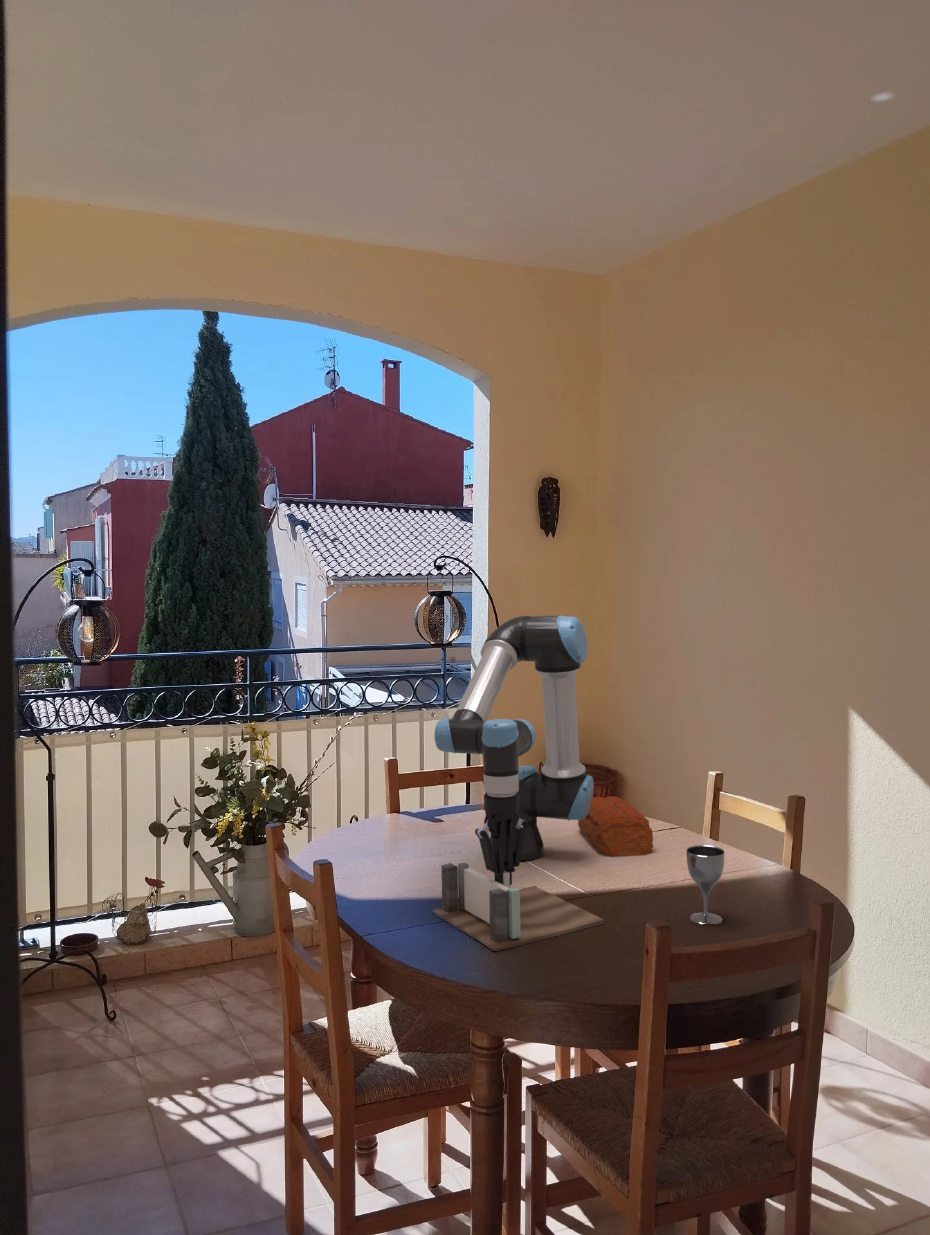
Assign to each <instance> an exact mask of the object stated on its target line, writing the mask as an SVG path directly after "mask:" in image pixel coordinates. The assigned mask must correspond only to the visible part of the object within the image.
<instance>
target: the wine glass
mask: <svg viewBox="0 0 930 1235" xmlns="http://www.w3.org/2000/svg"><path fill="white" fill-rule="evenodd" d="M686 864H687V869H688V873H689V876H690V878H691V879H692V880H693V882H694V883H695V884H696V885H697V886H698V888H699V889H700V890H701V891H700V892H701V893H702V900H703V912H694V913H692V914H689V916H690V917H688V919H689V918H690V919H689V920H690V921H691V922H693V923H694V924H697V925H699V924H700V925H703V924H715V925H719V924H721V923H723V921H722V920H723V918H722V916H721V915H718V914H716V913H712V912H709V911H708V902H709V894H710V891H711V890H712V889H713V887H714V886H715V885H716V884H717V883H718V882H719V881H720V880H721V878H722V876H723V873H724V868H725V851H724V849H722V848H720V847H717V846H714V845H707V844H704V845H703V844H700V845H693V846H692V845H691V846H689V847H687V848H686Z"/></svg>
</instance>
